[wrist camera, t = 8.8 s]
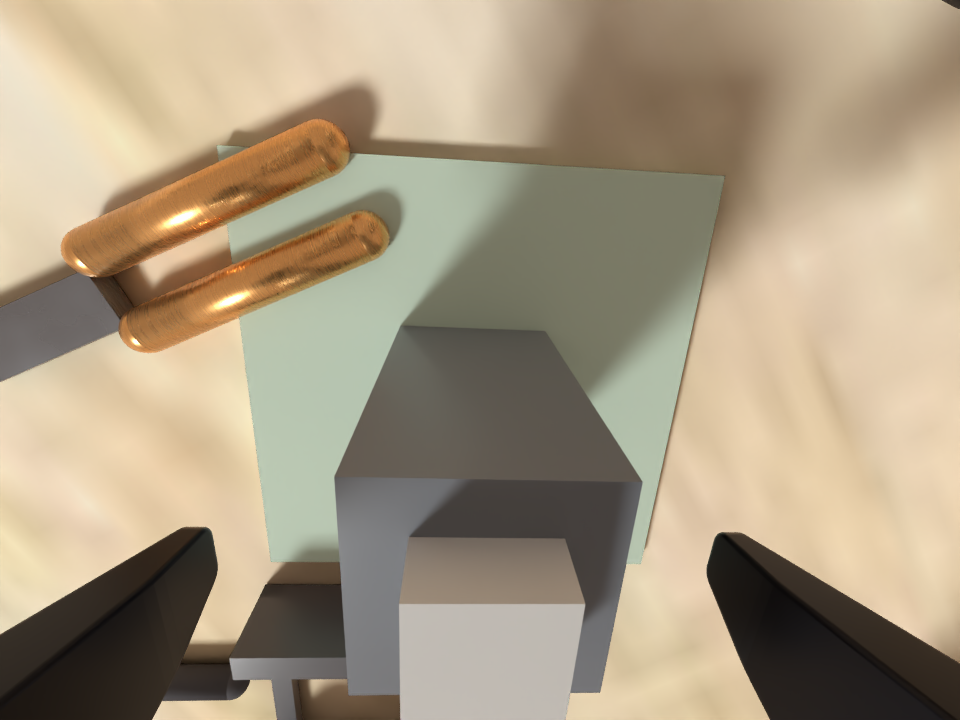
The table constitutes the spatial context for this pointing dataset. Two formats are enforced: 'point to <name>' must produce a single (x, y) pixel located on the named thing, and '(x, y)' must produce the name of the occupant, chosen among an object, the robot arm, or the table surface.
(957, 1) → the coffee press
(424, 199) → the mat
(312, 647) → the frame
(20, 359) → the copper prong connector
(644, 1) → the table surface
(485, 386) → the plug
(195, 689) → the grey capsule rod
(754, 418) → the table surface
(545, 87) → the table surface
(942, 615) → the table surface
